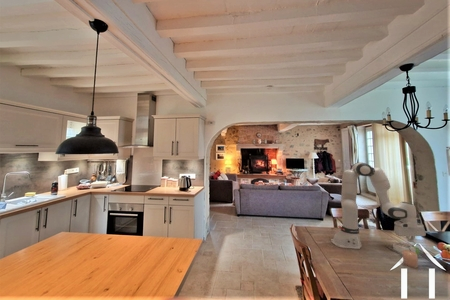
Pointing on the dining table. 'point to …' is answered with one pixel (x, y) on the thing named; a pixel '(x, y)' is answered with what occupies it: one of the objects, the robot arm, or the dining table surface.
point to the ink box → (405, 247)
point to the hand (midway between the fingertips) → (410, 241)
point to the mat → (402, 254)
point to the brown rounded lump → (410, 258)
